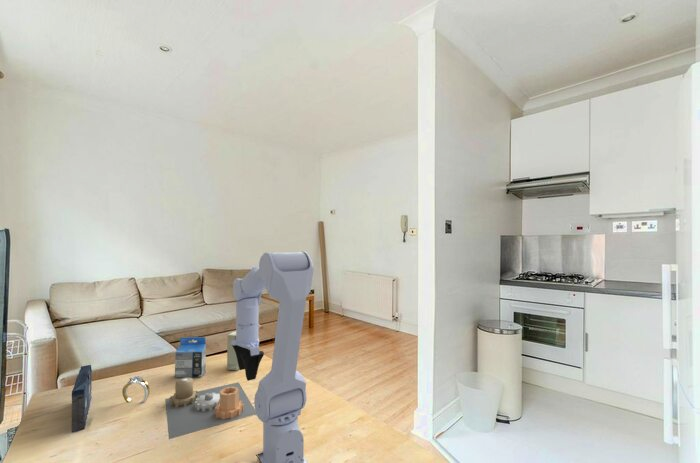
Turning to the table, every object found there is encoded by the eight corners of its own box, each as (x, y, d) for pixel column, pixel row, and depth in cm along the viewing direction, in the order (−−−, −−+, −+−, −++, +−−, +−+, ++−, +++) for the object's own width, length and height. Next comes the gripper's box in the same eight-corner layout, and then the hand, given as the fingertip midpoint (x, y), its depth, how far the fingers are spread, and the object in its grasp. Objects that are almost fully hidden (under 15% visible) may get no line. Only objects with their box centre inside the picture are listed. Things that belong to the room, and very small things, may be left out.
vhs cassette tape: (80, 400, 94) (80, 365, 94) (93, 398, 95) (94, 363, 95) (68, 434, 78) (69, 392, 78) (84, 430, 80) (84, 389, 80)
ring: (119, 408, 90) (120, 378, 90) (129, 402, 93) (129, 373, 93) (142, 410, 89) (143, 380, 89) (151, 403, 92) (151, 375, 92)
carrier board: (257, 418, 85) (257, 391, 85) (169, 444, 74) (169, 413, 74) (238, 386, 103) (238, 363, 103) (165, 403, 92) (165, 378, 92)
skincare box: (237, 371, 114) (237, 335, 114) (226, 370, 115) (226, 335, 115) (247, 363, 120) (247, 330, 120) (236, 362, 121) (236, 329, 121)
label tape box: (174, 378, 108) (174, 341, 108) (179, 373, 112) (179, 337, 112) (201, 377, 109) (201, 340, 109) (206, 372, 113) (206, 336, 113)
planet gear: (246, 414, 84) (246, 392, 85) (217, 422, 81) (217, 400, 81) (239, 402, 90) (239, 382, 90) (212, 409, 87) (213, 388, 87)
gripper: (225, 319, 91) (225, 367, 91) (238, 332, 79) (238, 388, 79) (251, 315, 95) (251, 362, 95) (267, 327, 83) (267, 381, 83)
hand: (247, 374), depth 87 cm, fingers open, 7 cm apart
